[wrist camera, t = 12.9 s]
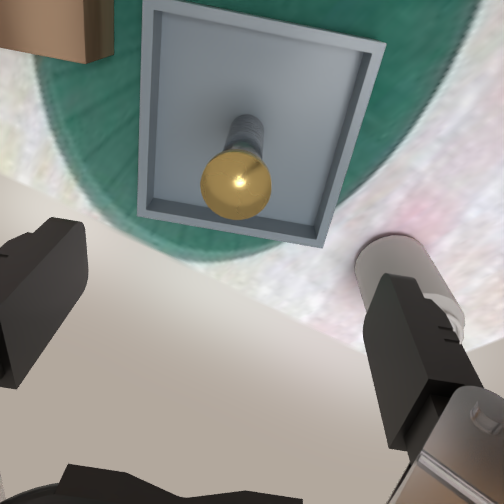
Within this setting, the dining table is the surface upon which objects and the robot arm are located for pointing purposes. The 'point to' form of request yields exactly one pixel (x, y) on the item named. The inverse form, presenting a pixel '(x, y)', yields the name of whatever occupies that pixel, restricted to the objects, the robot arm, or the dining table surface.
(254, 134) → the pin
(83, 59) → the pin block
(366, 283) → the can
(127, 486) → the robot arm
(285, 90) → the tray
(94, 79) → the dining table surface
